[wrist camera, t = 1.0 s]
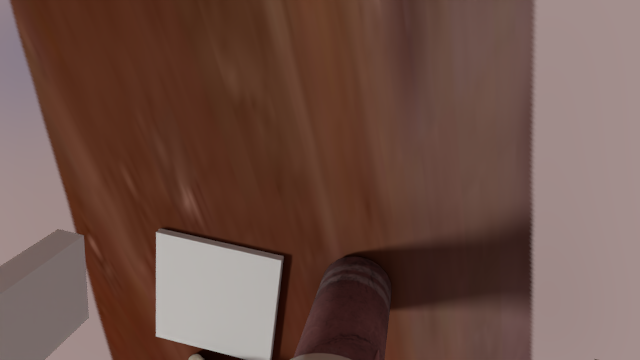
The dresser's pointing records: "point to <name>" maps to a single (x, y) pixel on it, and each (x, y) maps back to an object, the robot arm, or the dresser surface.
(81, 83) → the dresser surface
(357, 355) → the can
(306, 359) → the cloche
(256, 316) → the mat
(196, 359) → the stone
